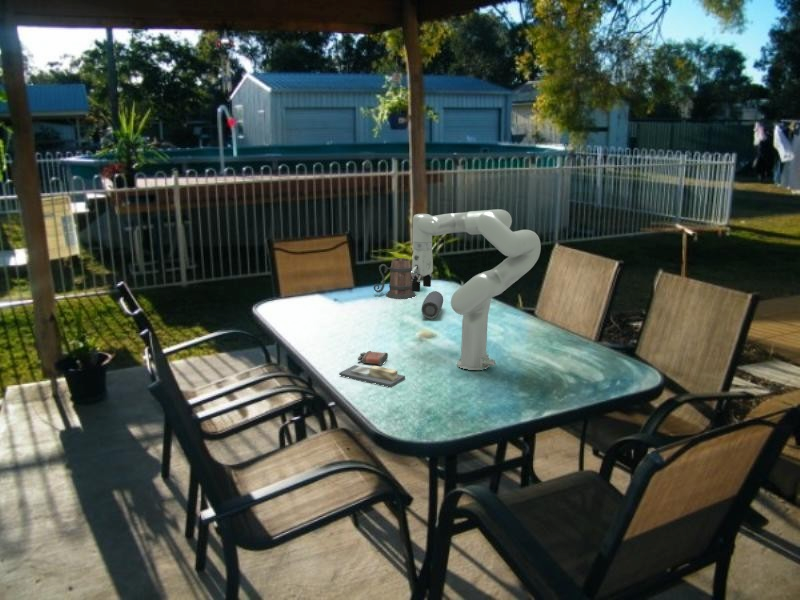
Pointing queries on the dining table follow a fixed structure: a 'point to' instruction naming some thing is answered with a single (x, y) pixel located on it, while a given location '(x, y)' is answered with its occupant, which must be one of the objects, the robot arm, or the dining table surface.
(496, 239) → the robot arm
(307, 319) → the dining table surface
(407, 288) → the tankard
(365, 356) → the lighter
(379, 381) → the mat
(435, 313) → the bluetooth speaker
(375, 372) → the turner
